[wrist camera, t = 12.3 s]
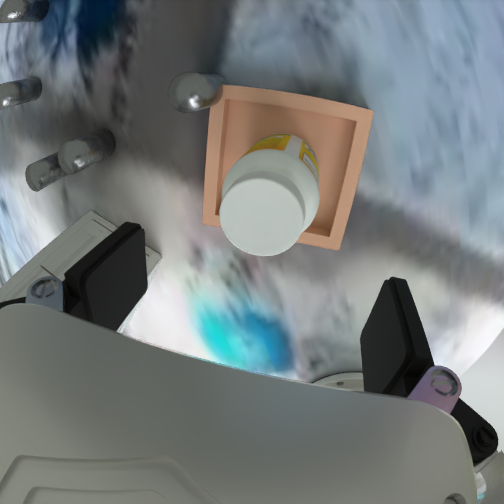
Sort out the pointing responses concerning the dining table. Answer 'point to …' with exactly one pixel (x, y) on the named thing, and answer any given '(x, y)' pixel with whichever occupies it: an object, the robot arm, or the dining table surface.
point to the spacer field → (100, 142)
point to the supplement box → (70, 258)
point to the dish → (303, 126)
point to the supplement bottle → (270, 195)
